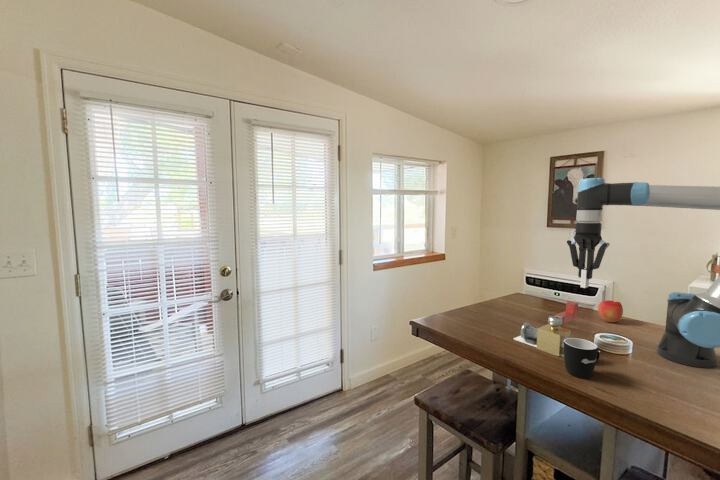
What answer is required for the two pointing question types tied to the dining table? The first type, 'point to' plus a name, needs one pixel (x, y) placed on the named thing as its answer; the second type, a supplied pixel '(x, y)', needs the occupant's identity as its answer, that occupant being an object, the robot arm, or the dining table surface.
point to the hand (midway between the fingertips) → (584, 287)
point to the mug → (580, 357)
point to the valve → (546, 337)
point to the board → (529, 343)
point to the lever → (564, 315)
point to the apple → (610, 310)
